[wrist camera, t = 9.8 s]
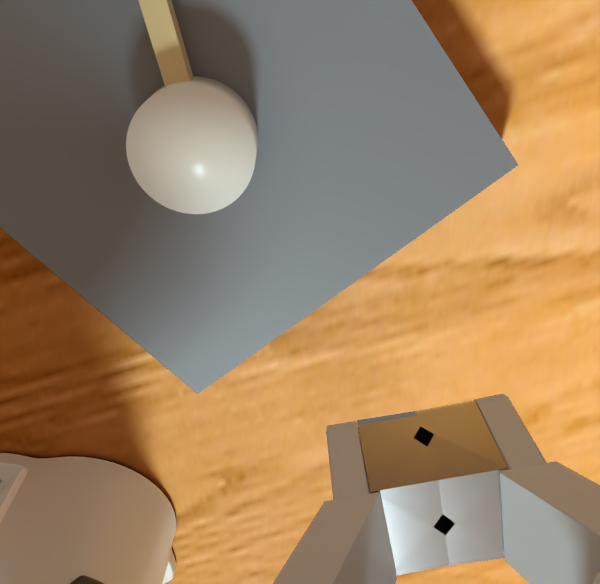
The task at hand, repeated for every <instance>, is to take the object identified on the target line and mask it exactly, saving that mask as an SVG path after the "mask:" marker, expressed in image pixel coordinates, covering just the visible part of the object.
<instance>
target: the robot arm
mask: <svg viewBox="0 0 600 584" xmlns="http://www.w3.org/2000/svg"><path fill="white" fill-rule="evenodd" d="M357 424H358V427H357ZM358 430H359V431H358ZM326 434H327V443H328V453H329V462H330V472H331V481H332V491H333V500H330V501H325V502H324V503H323V505H322V506H321V508H320V510H319V511H318V513H317V514H316V516H315V518H314V519H313V521H312V522H311V524H310V525H309V527H308V529H307V530H306V532H305V533H304V535H303V537H302V538H301V540H300V541H299V543H298V545H297V546H296V548H295V549H294V551H293V552H292V554H291V556H290V557H289V559H288V560H287V562H286V564H285V565H284V567H283V568H282V570H281V572H280V573H279V575H278V576H277V578H276V579H275V581H274V583H273V584H395V583H396V580H397V577H396V575H402V574H407V573H412V572H417V571H422V570H428V569H433V568H438V567H443V566H448V565H456V564H463V563H471V562H478V561H485V560H493V559H500V558H505V561H506V562H507V563H508V564H509V565H510V566H511V567H512V568H514V569H515V570H516V571H517V572H518V573H519V574H520V575H521V576H522V577H524V578H525V579H526V580H527V581H528V582H529V583H530V584H600V485H598V484H597V483H595V482H593V481H591V480H589V479H587V478H586V477H584V476H582V475H580V474H578V473H577V472H575V471H573V470H571V469H569V468H567V467H566V466H564V465H562V464H560V463H558V462H550V463H546V461H545V459H544V457H543V456H542V454H541V452H540V451H539V449H538V447H537V445H536V444H535V442H534V440H533V439H532V437H531V435H530V434H529V432H528V430H527V428H526V427H525V425H524V423H523V422H522V420H521V418H520V416H519V415H518V413H517V411H516V410H515V408H514V406H513V404H512V403H511V401H510V399H509V398H508V396H506V395H504V394H499V395H494V396H489V397H485V398H480V399H475V400H473V401H468V402H462V403H457V404H452V405H446V406H441V407H436V408H431V409H425V410H420V411H414V412H408V413H401V414H395V415H389V416H382V417H376V418H370V419H363V420H357V422H355V421H354V422H348V423H341V424H335V425H329V426H327V431H326ZM359 435H360V436H359ZM175 531H176V517H175V513H174V510H173V508H172V506H171V504H170V502H169V500H168V499H167V497H166V496H165V495H164V494H163V492H162V491H161V490H160V489H159V488H158V487H157V486H156V485H155V484H153V483H152V482H151V481H150V480H148V479H147V478H145V477H144V476H142V475H140V474H139V473H137V472H135V471H133V470H131V469H129V468H127V467H124V466H122V465H119V464H116V463H113V462H109V461H105V460H101V459H96V458H89V457H71V456H70V457H56V458H32V457H28V456H22V455H17V454H10V453H0V584H164V583H166V582H169V581H170V580H171V579H172V578H173V575H174V572H175V569H176V561H175V558H174V555H173V552H172V542H173V539H174V536H175Z"/></svg>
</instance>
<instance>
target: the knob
mask: <svg viewBox="0 0 600 584" xmlns="http://www.w3.org/2000/svg"><path fill="white" fill-rule="evenodd" d="M138 1H139V4H140V7H141V10H142V14H143V17H144V20H145V23H146V27H147V30H148V33H149V36H150V39H151V43H152V46H153V49H154V52H155V56H156V59H157V62H158V65H159V68H160V72H161V75H162V78H163V81H164V85H163V86H162V87H161V88H159V89H158V90H157V91H156V92H155V93H154V94H153V95H152V96H151V97H150V98H149V99H147V100H146V101H145V102H144V103H143V104H142V105H141V106H140V108H139V109H138V110H137V111H136V113H135V115H134V116H133V118H132V120H131V122H130V125H129V128H128V132H127V138H126V153H127V159H128V163H129V166H130V169H131V171H132V173H133V175H134V177H135V179H136V181H137V182H138V184H139V185H140V186H141V188H142V189H143V190H144V191H145V192H146V193H147V194H148V195H149V196H150V197H151V198H153V199H154V200H155V201H156V202H158V203H160V204H161V205H163V206H165V207H167V208H169V209H171V210H174V211H177V212H181V213H186V214H206V213H211V212H215V211H218V210H220V209H223V208H225V207H226V206H228V205H230V204H231V203H233V202H234V201H235V200H236V199H237V198H238V197H239V196H240V195H241V194H242V193H243V192H244V190H245V189H246V188H247V186H248V184H249V182H250V180H251V177H252V175H253V171H254V167H255V161H256V154H257V147H258V132H257V126H256V123H255V120H254V117H253V115H252V112H251V110H250V109H249V107H248V105H247V104H246V103H245V101H244V100H243V99H242V98H241V97H240V96H239V95H238V94H237V93H236V92H235V91H234V90H233V89H231V88H230V87H229V86H227V85H225V84H223V83H222V82H219V81H217V80H214V79H211V78H207V77H201V76H193V74H192V70H191V67H190V63H189V60H188V56H187V53H186V49H185V46H184V42H183V39H182V35H181V32H180V28H179V25H178V21H177V18H176V14H175V11H174V7H173V3H172V0H138Z"/></svg>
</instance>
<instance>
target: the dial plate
mask: <svg viewBox="0 0 600 584" xmlns="http://www.w3.org/2000/svg"><path fill="white" fill-rule="evenodd" d="M172 3H173V7H174V11H175V14H176V18H177V21H178V25H179V28H180V32H181V35H182V39H183V42H184V46H185V49H186V53H187V56H188V60H189V63H190V67H191V70H192V74H193V76H201V77H207V78H211V79H214V80H217V81H219V82H222V83H223V84H225V85H227V86H229V87H230V88H231V89H233V90H234V91H235V92H236V93H237V94H238V95H239V96H240V97H241V98H242V99H243V100H244V101H245V103H246V104H247V105H248V107H249V109H250V110H251V112H252V115H253V117H254V120H255V123H256V126H257V132H258V147H257V154H256V161H255V167H254V171H253V175H252V177H251V180H250V182H249V184H248V186H247V188H246V189H245V190H244V192H243V193H242V194H241V195H240V196H239V197H238V198H237V199H236V200H235V201H234V202H233V203H231V204H230V205H228V206H226V207H225V208H223V209H220V210H218V211H215V212H211V213H206V214H186V213H181V212H177V211H174V210H171V209H169V208H167V207H165V206H163V205H161V204H160V203H158V202H156V201H155V200H154V199H153V198H151V197H150V196H149V195H148V194H147V193H146V192H145V191H144V190H143V189H142V188H141V186H140V185H139V184H138V182H137V181H136V179H135V177H134V175H133V173H132V171H131V169H130V166H129V163H128V159H127V153H126V138H127V132H128V128H129V125H130V122H131V120H132V118H133V116H134V115H135V113H136V111H137V110H138V109H139V108H140V106H141V105H142V104H143V103H144V102H145V101H146V100H147V99H149V98H150V97H151V96H152V95H153V94H154V93H155V92H156V91H157V90H158V89H159V88H161V87H162V86H163V85H164V81H163V78H162V75H161V72H160V68H159V65H158V62H157V59H156V56H155V52H154V49H153V46H152V43H151V39H150V36H149V33H148V30H147V27H146V23H145V20H144V17H143V14H142V10H141V7H140V4H139V1H138V0H0V228H1V229H2V230H3V231H4V232H5V233H7V234H8V235H9V236H10V237H11V238H13V239H14V240H15V241H16V242H17V243H19V244H20V245H21V246H22V247H23V248H25V249H26V250H27V251H28V252H29V253H30V254H32V255H33V256H34V257H35V258H36V259H38V260H39V261H40V262H41V263H42V264H44V265H45V266H46V267H47V268H48V269H50V270H51V271H52V272H53V273H54V274H55V275H57V276H58V277H59V278H60V279H61V280H63V281H64V282H65V283H66V284H67V285H69V286H70V287H71V288H72V289H73V290H75V291H76V292H77V293H78V294H79V295H80V296H82V297H83V298H84V299H85V300H86V301H88V302H89V303H90V304H91V305H92V306H94V307H95V308H96V309H97V310H98V311H99V312H101V313H102V314H103V315H104V316H105V317H107V318H108V319H109V320H110V321H111V322H113V323H114V324H115V325H116V326H117V327H119V328H120V329H121V330H122V331H123V332H124V333H126V334H127V335H128V336H129V337H130V338H132V339H133V340H134V341H135V342H136V343H138V344H139V345H140V346H141V347H142V348H144V349H145V350H146V351H147V352H148V353H149V354H151V355H152V356H153V357H154V358H155V359H157V360H158V361H159V362H160V363H161V364H163V365H164V366H165V367H166V368H167V369H169V370H170V371H171V372H172V373H173V374H174V375H176V376H177V377H178V378H179V379H180V380H182V381H183V382H184V383H185V384H186V385H188V386H189V387H190V388H191V389H192V390H194V391H195V392H196V393H197V394H198V393H200V392H201V391H202V390H204V389H205V388H207V387H208V386H209V385H211V384H212V383H214V382H215V381H216V380H218V379H219V378H221V377H222V376H223V375H225V374H226V373H228V372H229V371H230V370H232V369H233V368H235V367H236V366H237V365H239V364H240V363H242V362H243V361H244V360H246V359H247V358H249V357H250V356H251V355H253V354H254V353H256V352H257V351H258V350H260V349H261V348H263V347H264V346H265V345H267V344H268V343H270V342H271V341H272V340H274V339H275V338H277V337H278V336H279V335H281V334H282V333H284V332H285V331H286V330H288V329H289V328H291V327H292V326H293V325H295V324H296V323H298V322H299V321H300V320H302V319H303V318H305V317H306V316H307V315H309V314H310V313H312V312H313V311H314V310H316V309H317V308H319V307H320V306H321V305H323V304H324V303H326V302H327V301H328V300H330V299H331V298H333V297H334V296H335V295H337V294H338V293H340V292H341V291H342V290H344V289H345V288H347V287H348V286H349V285H351V284H352V283H354V282H355V281H356V280H358V279H359V278H361V277H362V276H363V275H365V274H366V273H368V272H369V271H370V270H372V269H373V268H375V267H376V266H377V265H379V264H380V263H382V262H383V261H384V260H386V259H387V258H389V257H390V256H391V255H393V254H394V253H396V252H397V251H398V250H400V249H401V248H403V247H404V246H405V245H407V244H408V243H410V242H411V241H413V240H414V239H415V238H417V237H418V236H420V235H421V234H422V233H424V232H425V231H427V230H428V229H429V228H431V227H432V226H434V225H435V224H436V223H438V222H439V221H441V220H442V219H443V218H445V217H446V216H448V215H449V214H450V213H452V212H453V211H455V210H456V209H457V208H459V207H460V206H462V205H463V204H464V203H466V202H467V201H469V200H470V199H471V198H473V197H474V196H476V195H477V194H478V193H480V192H481V191H483V190H484V189H485V188H487V187H488V186H490V185H491V184H492V183H494V182H495V181H497V180H498V179H499V178H501V177H502V176H504V175H505V174H506V173H508V172H509V171H511V170H512V169H513V168H515V167H516V166H518V164H517V162H516V160H515V159H514V157H513V156H512V154H511V153H510V151H509V150H508V148H507V147H506V145H505V143H504V142H503V140H502V139H501V137H500V136H499V134H498V133H497V131H496V130H495V128H494V126H493V125H492V123H491V122H490V120H489V119H488V117H487V116H486V114H485V113H484V111H483V109H482V108H481V106H480V105H479V103H478V102H477V100H476V99H475V97H474V96H473V94H472V93H471V91H470V89H469V88H468V86H467V85H466V83H465V82H464V80H463V79H462V77H461V76H460V74H459V72H458V71H457V69H456V68H455V66H454V65H453V63H452V62H451V60H450V59H449V57H448V55H447V54H446V52H445V51H444V49H443V48H442V46H441V45H440V43H439V42H438V40H437V38H436V37H435V35H434V34H433V32H432V31H431V29H430V28H429V26H428V25H427V23H426V22H425V20H424V18H423V17H422V15H421V14H420V12H419V11H418V9H417V8H416V6H415V5H414V3H413V1H412V0H172Z"/></svg>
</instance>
